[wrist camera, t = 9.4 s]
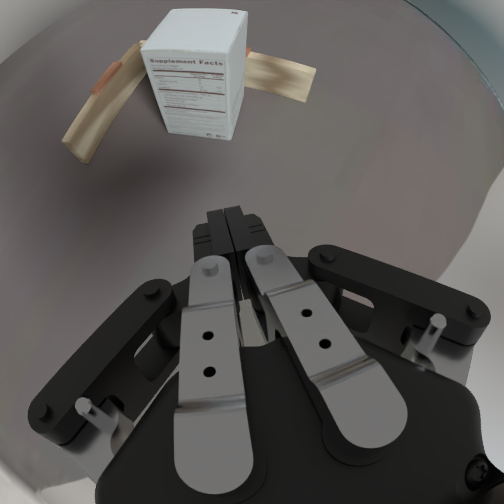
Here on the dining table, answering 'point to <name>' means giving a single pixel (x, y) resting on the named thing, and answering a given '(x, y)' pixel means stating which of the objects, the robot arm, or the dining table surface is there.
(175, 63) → the supplement box
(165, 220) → the dining table surface
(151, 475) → the robot arm
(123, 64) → the wooden corner bracket
